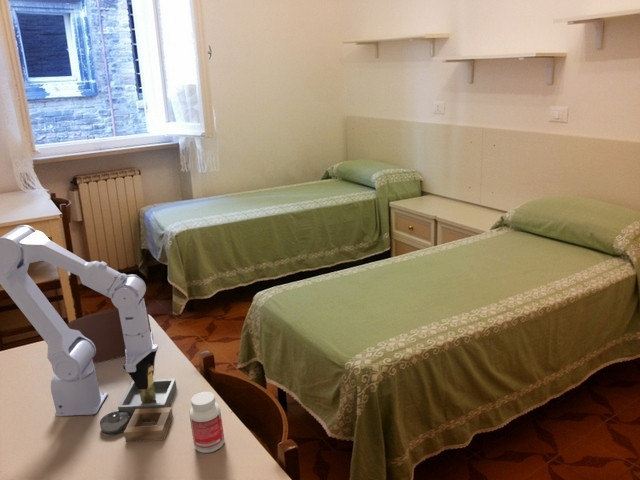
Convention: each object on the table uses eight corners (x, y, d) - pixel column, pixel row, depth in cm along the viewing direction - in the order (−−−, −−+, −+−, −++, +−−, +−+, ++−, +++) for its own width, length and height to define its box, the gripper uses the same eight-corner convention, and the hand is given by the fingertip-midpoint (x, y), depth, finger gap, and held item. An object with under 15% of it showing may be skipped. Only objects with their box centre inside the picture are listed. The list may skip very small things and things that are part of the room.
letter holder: (154, 349, 156) (146, 303, 151) (77, 368, 149) (66, 320, 144) (150, 334, 165) (142, 290, 160) (77, 351, 158) (66, 305, 153)
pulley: (97, 435, 121) (94, 424, 121) (106, 418, 127) (104, 407, 126) (124, 434, 121) (122, 423, 120) (133, 417, 127) (131, 406, 126)
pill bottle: (229, 445, 116) (223, 399, 112) (201, 458, 113) (194, 411, 109) (217, 430, 121) (210, 385, 117) (189, 442, 118) (182, 396, 114)
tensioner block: (125, 441, 119) (123, 432, 118) (137, 418, 127) (135, 409, 126) (163, 439, 119) (162, 430, 118) (172, 416, 126) (171, 407, 126)
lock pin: (136, 403, 129) (131, 372, 127) (142, 394, 133) (137, 364, 131) (154, 403, 129) (149, 372, 127) (160, 393, 133) (155, 363, 131)
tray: (119, 417, 127) (117, 407, 126) (133, 390, 137) (132, 381, 136) (165, 414, 127) (164, 404, 126) (176, 388, 137) (175, 378, 136)
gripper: (144, 345, 119) (154, 400, 124) (162, 314, 133) (170, 365, 137) (111, 347, 119) (122, 402, 124) (132, 316, 133) (141, 366, 137)
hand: (145, 382), depth 130 cm, fingers closed on lock pin, 4 cm apart
